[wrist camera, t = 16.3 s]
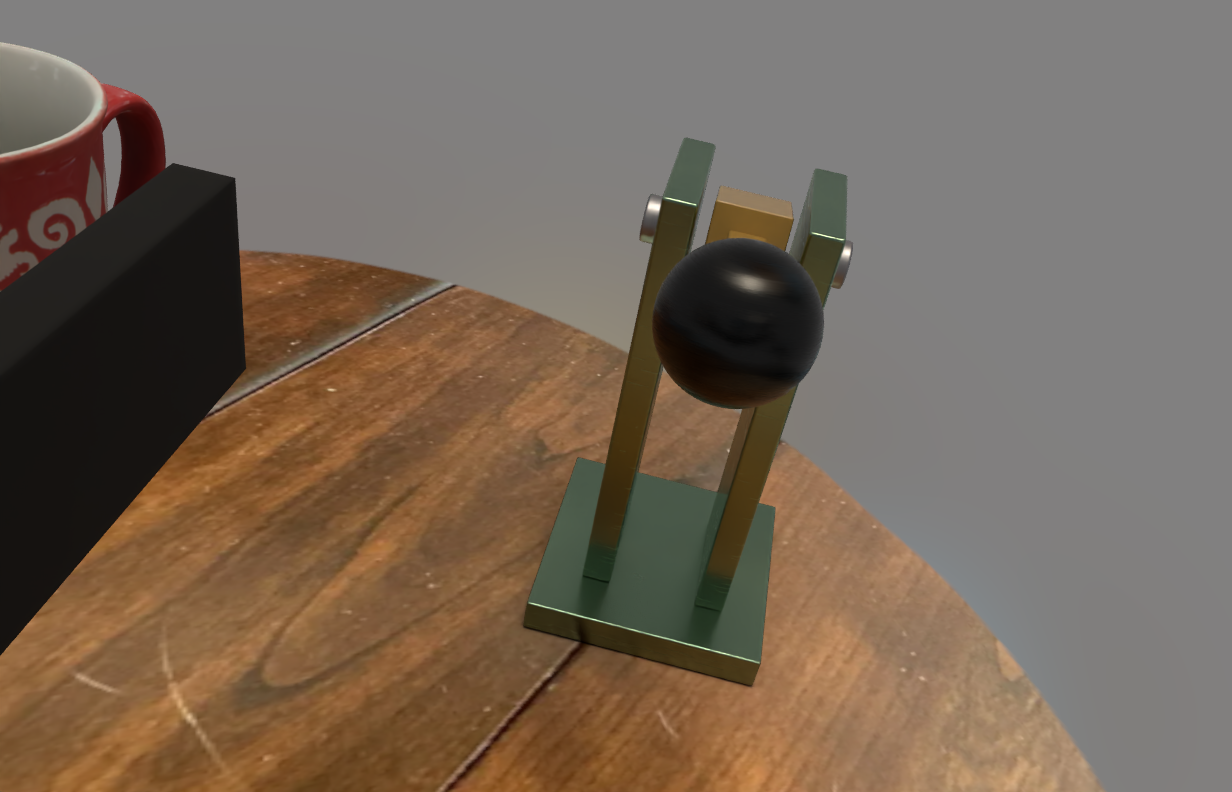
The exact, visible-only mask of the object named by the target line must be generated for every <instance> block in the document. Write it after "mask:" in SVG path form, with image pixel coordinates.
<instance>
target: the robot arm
mask: <svg viewBox="0 0 1232 792" xmlns="http://www.w3.org/2000/svg"><path fill="white" fill-rule="evenodd" d="M245 369H246V363H245V345H244V327H243V309H242V291H241V273H240V255H239V239H238V220H237V202H236V184H235V178H233V177H229V176H224V175H220V174H216V173H212V172H208V171H204V170H200V169H196V168H191V167H187V166H183V165H179V164H175V163H173V164H171V165H170V166H168V167H167V168H166V169H164V170H163V171H162V172H160V173H159V174H158V175H156V176H155V177H154V178H152V179H151V180H150V181H148V182H147V183H146V184H144V185H143V186H142V187H140V188H139V189H138V190H136V191H135V192H133V193H132V194H131V195H129V196H128V197H127V198H125V199H124V200H123V201H121V202H120V203H119V204H117V205H116V206H115V207H113V208H112V209H111V210H110V211H108V212H107V213H105V214H104V215H103V216H101V217H100V218H99V219H97V220H96V221H95V222H93V223H92V224H91V225H89V226H88V227H87V228H85V229H84V230H83V231H81V232H80V233H78V234H77V235H76V236H74V237H73V238H72V239H70V240H69V241H68V242H66V243H65V244H64V245H62V246H61V247H60V248H58V249H57V250H56V251H54V252H53V253H52V254H50V255H49V256H48V257H46V258H45V259H44V260H42V261H41V262H40V263H38V264H37V265H36V266H34V267H33V268H32V269H30V270H29V271H28V272H26V273H25V274H23V275H22V276H21V277H19V278H18V279H17V280H15V281H14V282H13V283H11V284H10V285H9V286H7V287H6V288H5V289H3V290H2V291H1V292H0V655H1V654H2V653H3V652H4V651H5V650H6V648H7V647H8V646H9V645H10V644H11V643H12V641H13V640H14V639H15V638H16V637H17V635H18V634H19V633H20V632H21V631H22V630H23V628H24V627H25V626H26V625H27V624H28V623H29V621H30V620H31V619H32V618H33V617H34V616H35V614H36V613H37V612H38V611H39V610H40V609H41V607H42V606H43V605H44V604H45V603H46V602H47V600H48V599H49V598H50V597H51V596H52V595H53V593H54V592H55V591H56V590H57V589H58V588H59V586H60V585H61V584H62V583H63V582H64V581H65V579H66V578H67V577H68V576H69V575H70V574H71V572H72V571H73V570H74V569H75V568H76V567H77V565H78V564H79V563H80V562H81V561H82V560H83V558H84V557H85V556H86V555H87V554H88V553H89V551H90V550H91V549H92V548H93V547H94V546H95V544H96V543H97V542H98V541H99V540H100V539H101V537H102V536H103V535H104V534H105V533H106V532H107V530H108V529H109V528H110V527H111V526H112V524H113V523H114V522H115V521H116V520H117V519H118V517H119V516H120V515H121V514H122V513H123V512H124V510H125V509H126V508H127V507H128V506H129V505H130V503H131V502H132V501H133V500H134V499H135V498H136V496H137V495H138V494H139V493H140V492H141V491H142V489H143V488H144V487H145V486H146V485H147V484H148V482H149V481H150V480H151V479H152V478H153V477H154V475H155V474H156V473H157V472H158V471H159V470H160V468H161V467H162V466H163V465H164V464H165V463H166V461H167V460H168V459H169V458H170V457H171V456H172V454H173V453H174V452H175V451H176V450H177V449H178V447H179V446H180V445H181V444H182V443H183V442H184V440H185V439H186V438H187V437H188V436H189V435H190V433H191V432H192V431H193V430H194V429H195V428H196V426H197V425H198V424H199V423H200V422H201V420H202V419H203V418H204V417H205V416H206V415H207V413H208V412H209V411H210V410H211V409H212V408H213V406H214V405H215V404H216V403H217V402H218V401H219V399H220V398H221V397H222V396H223V395H224V394H225V392H226V391H227V390H228V389H229V388H230V387H231V385H232V384H233V383H234V382H235V381H236V380H237V378H238V377H239V376H240V375H241V374H242V373H243V371H244V370H245Z"/></svg>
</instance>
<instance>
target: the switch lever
mask: <svg viewBox="0 0 1232 792" xmlns="http://www.w3.org/2000/svg"><path fill="white" fill-rule="evenodd" d="M793 221H794V219H793V211H792V204H791V202H789V201H784V200H780V199H776V198H772V197H768V196H763V195H759V194H755V193H751V192H747V191H742V190H738V189H734V188H729V187H725V186H720V188H719V191H718V195H717V199H716V202H715V206H714V210H713V214H712V218H711V223H710V226H709V230H708V235H707V239H706V242H705V245H703V246H701V247H699V248H697V249H695V250H694V251H692V252H691V253H689V254H688V255H686V256H685V257H684V258H683V259H682V260H680V261H679V262H678V263H677V264H676V265H675V266H674V268H673V269H672V270H671V271H670V272H669V274H668V275H667V277H666V278H665V280H664V282H663V283H662V285H661V287H660V289H659V292H658V294H657V297H656V300H655V304H654V310H653V316H652V332H653V340H654V344H655V347H656V351H657V354H658V356H659V359H660V361H661V363H662V365H663V366H664V368H665V370H666V371H667V373H668V374H669V376H670V377H671V378H672V379H673V380H674V382H675V383H676V384H677V385H678V386H680V387H681V388H682V389H683V390H684V391H685V392H687V393H688V394H690V395H691V396H693V397H694V398H696V399H698V400H700V401H702V402H704V403H707V404H710V405H713V406H717V407H721V408H728V409H747V408H753V407H758V406H762V405H765V404H767V403H770V402H772V401H775V400H777V399H778V398H780V397H782V396H784V395H785V394H787V393H788V392H789V391H790V390H792V389H793V388H794V387H796V386H797V385H798V384H799V382H800V381H801V380H802V379H803V378H804V377H805V376H806V374H807V373H808V372H809V370H810V369H811V367H812V365H813V363H814V361H815V359H816V358H817V355H818V352H819V349H820V347H821V342H822V338H823V328H824V317H823V308H822V303H821V299H820V296H819V293H818V290H817V288H816V286H815V284H814V282H813V280H812V279H811V277H810V276H809V274H808V273H807V271H806V270H805V269H804V268H803V267H802V266H801V264H800V263H799V262H798V261H797V260H796V259H794V258H793V257H792V256H791V255H789V254H788V253H787V252H785V250H786V246H787V243H788V239H789V235H790V232H791V228H792V224H793Z"/></svg>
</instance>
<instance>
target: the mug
mask: <svg viewBox="0 0 1232 792" xmlns="http://www.w3.org/2000/svg"><path fill="white" fill-rule="evenodd" d="M113 118H116V120H117V123H118V127H119V131H120V136H121V147H122V160H121V174H120V180H119V186H118V190H117V193H116V198H115V202H114V205H113V207H115V206H116V205H117V204H119V203H120V202H121V201H123V200H124V199H125V198H127V197H128V196H129V195H131V194H132V193H133V192H135V191H136V190H138V189H139V188H140V187H142V186H143V185H144V184H146V183H147V182H148V181H150V180H151V179H152V178H154V177H155V176H156V175H158V174H159V173H160V172H162V171H163V170H164V169H165V165H166V158H165V145H164V137H163V131H162V127H161V123H160V120H159V118H158V116H157V114H156V112H155V110H154V109H153V108H152V106H151V105H150V104H149V103H148V102H147V101H146V100H145V99H143V98H142V97H140V96H138V95H136V94H134V93H132V92H129V91H127V90H124V89H121V88H118V87H115V86H111V85H107V84H101V83H100V82H99V81H98V80H97V79H96V78H95V77H94V76H92V74H90V73H89V72H87V71H86V70H85V69H83V68H82V67H80V66H78V65H76V64H74V63H72V62H70V61H68V60H65V59H63V58H60V57H58V56H55V55H52V54H49V53H46V52H42V51H39V50H35V49H31V48H27V47H23V46H18V45H13V44H8V43H2V42H0V292H1V291H2V290H3V289H5V288H6V287H7V286H9V285H10V284H11V283H13V282H14V281H15V280H17V279H18V278H19V277H21V276H22V275H23V274H25V273H26V272H28V271H29V270H30V269H32V268H33V267H34V266H36V265H37V264H38V263H40V262H41V261H42V260H44V259H45V258H46V257H48V256H49V255H50V254H52V253H53V252H54V251H56V250H57V249H58V248H60V247H61V246H62V245H64V244H65V243H66V242H68V241H69V240H70V239H72V238H73V237H74V236H76V235H77V234H78V233H80V232H81V231H83V230H84V229H85V228H87V227H88V226H89V225H91V224H92V223H93V222H95V221H96V220H97V219H99V218H100V217H101V216H103V215H104V214H105V213H107V212H108V208H107V207H108V206H107V188H106V173H105V164H104V150H103V134H102V133H103V131H104V130H105V128H106V127H107V125H108V124H109V123H110V121H111V120H112V119H113Z"/></svg>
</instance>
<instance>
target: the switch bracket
mask: <svg viewBox="0 0 1232 792" xmlns="http://www.w3.org/2000/svg"><path fill="white" fill-rule="evenodd" d="M714 152H715V145H714V144H711V143H707V142H703V141H698V140H694V139H690V138H684V139H683V141H682V144H681V147H680V149H679V152H678V155H677V158H676V161H675V164H674V167H673V169H672V172H671V175H670V177H669V180H668V183H667V186H666V189H665V191H664V194H663V196H659V195H654V194H651V195H650V196H649V199H648V202H647V205H646V209H645V212H644V217H643V221H642V225H641V231H640V241H643V242H647V243H651V244H652V248H651V252H650V257H649V262H648V266H647V271H646V276H645V281H644V285H643V290H642V295H641V299H640V304H639V309H638V314H637V318H636V323H635V328H634V333H633V337H632V342H631V347H630V351H629V356H628V361H627V365H626V370H625V375H624V379H623V384H622V389H621V394H620V398H619V403H618V408H617V412H616V417H615V422H614V427H613V431H612V436H611V441H610V445H609V450H608V455H607V460H606V464H603V463H599V462H595V461H591V460H587V459H583V458H579V457H578V458H577V460H576V463H575V466H574V469H573V472H572V475H571V478H570V481H569V483H568V486H567V489H566V492H565V495H564V498H563V501H562V504H561V506H560V509H559V512H558V515H557V518H556V521H555V524H554V527H553V529H552V532H551V535H550V538H549V541H548V544H547V547H546V550H545V552H544V555H543V558H542V561H541V564H540V567H539V570H538V573H537V575H536V578H535V581H534V584H533V587H532V590H531V593H530V596H529V598H528V601H527V606H526V611H525V617H524V623H523V625H524V626H525V627H529V628H533V629H537V630H540V631H544V632H548V633H552V634H556V635H560V636H563V637H567V638H571V639H575V640H579V641H582V642H586V643H590V644H594V645H598V646H602V647H605V648H609V649H613V650H617V651H621V652H624V653H628V654H632V655H636V656H640V657H644V658H647V659H651V660H655V661H659V662H663V663H666V664H670V665H674V666H678V667H682V668H686V669H689V670H693V671H697V672H701V673H705V674H708V675H712V676H716V677H720V678H724V679H728V680H731V681H735V682H739V683H743V684H747V685H752V684H753V682H754V680H755V677H756V674H757V672H758V669H759V667H760V664H761V654H762V644H763V633H764V623H765V613H766V602H767V592H768V582H769V571H770V561H771V551H772V540H773V530H774V520H775V507H773V506H769V505H765V504H761V503H759V500H760V497H761V494H762V491H763V488H764V485H765V482H766V479H767V476H768V473H769V471H770V468H771V465H772V462H773V459H774V456H775V453H776V450H777V447H778V444H779V441H780V438H781V435H782V432H783V429H784V426H785V423H786V420H787V417H788V413H789V411H790V408H791V405H792V402H793V399H794V396H795V393H796V390H797V387H798V385H797V386H796V387H794V388H793V389H792V390H790V391H789V392H788V393H787V394H785V395H784V396H782V397H780V398H778V399H777V400H775V401H772V402H770V403H767V404H765V405H762V406H758V407H753V408H747V409H742V412H741V415H740V419H739V422H738V425H737V429H736V432H735V435H734V439H733V442H732V445H731V449H730V452H729V455H728V459H727V462H726V465H725V469H724V472H723V475H722V478H721V482H720V485H719V488H718V492H714V491H710V490H706V489H702V488H698V487H694V486H690V485H686V484H682V483H678V482H674V481H670V480H666V479H662V478H658V477H654V476H651V475H647V474H643V473H639V472H638V471H639V467H640V463H641V459H642V455H643V450H644V446H645V442H646V438H647V434H648V429H649V425H650V421H651V417H652V413H653V408H654V404H655V400H656V396H657V392H658V387H659V383H660V379H661V375H662V371H663V365H662V363H661V361H660V359H659V356H658V354H657V351H656V347H655V344H654V340H653V332H652V316H653V310H654V304H655V300H656V297H657V294H658V292H659V289H660V287H661V285H662V283H663V282H664V280H665V278H666V277H667V275H668V274H669V272H670V271H671V270H672V269H673V268H674V266H675V265H676V264H677V263H678V262H679V261H680V260H682V259H683V258H684V257H685V256H686V255H688V254H689V253H691V249H692V245H693V240H694V236H695V232H696V228H697V224H698V219H699V215H700V211H701V207H702V202H703V198H704V194H705V190H706V186H707V182H708V177H709V173H710V169H711V165H712V161H713V156H714ZM846 213H847V176H846V175H843V174H839V173H834V172H830V171H826V170H821V169H815V171H814V173H813V177H812V180H811V183H810V186H809V190H808V193H807V196H806V200H805V203H804V206H803V210H802V213H801V216H800V220H799V223H798V227H797V230H796V233H795V236H794V240H793V243H792V246H791V250H790V253H789V255H791V256H792V257H793V258H794V259H796V260H797V261H798V262H799V263H800V264H801V266H802V267H803V268H804V269H805V270H806V271H807V273H808V274H809V276H810V277H811V279H812V280H813V282H814V284H815V286H816V288H817V290H818V293H819V296H820V299H821V303H822V308H823V309H824V307H825V304H826V301H827V297H828V295H829V291H830V289H831V287H833V288H837V289H839V288H841V286H842V285H843V283H844V280H845V278H846V274H847V271H848V268H849V265H850V260H851V256H852V250H853V243H852V242H851V241H847V240H846V215H847V214H846Z"/></svg>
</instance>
